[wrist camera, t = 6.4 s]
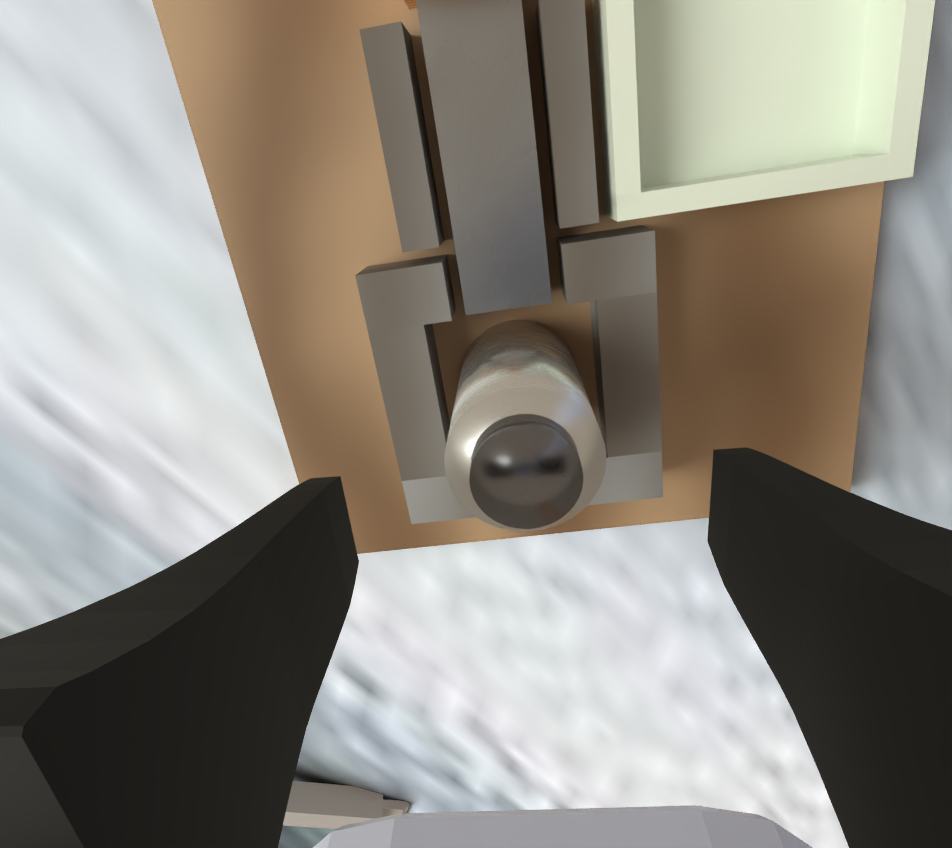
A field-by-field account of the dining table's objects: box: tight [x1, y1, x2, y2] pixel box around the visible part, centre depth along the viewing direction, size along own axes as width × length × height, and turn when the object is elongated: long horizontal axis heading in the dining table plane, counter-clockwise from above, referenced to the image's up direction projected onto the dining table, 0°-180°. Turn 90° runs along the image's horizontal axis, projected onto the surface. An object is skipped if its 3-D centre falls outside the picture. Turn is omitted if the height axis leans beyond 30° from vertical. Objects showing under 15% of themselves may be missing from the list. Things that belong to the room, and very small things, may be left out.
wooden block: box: [404, 0, 552, 315], centre depth 14 cm, size 3×10×3 cm, turn 9°
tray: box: [592, 0, 935, 222], centre depth 14 cm, size 7×7×2 cm
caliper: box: [283, 781, 410, 829], centre depth 25 cm, size 20×1×6 cm, turn 70°
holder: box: [152, 0, 885, 554], centre depth 16 cm, size 18×23×3 cm
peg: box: [444, 320, 606, 532], centre depth 16 cm, size 4×4×7 cm
